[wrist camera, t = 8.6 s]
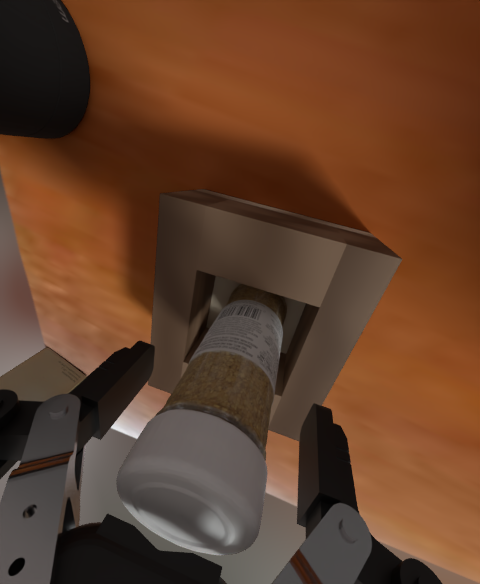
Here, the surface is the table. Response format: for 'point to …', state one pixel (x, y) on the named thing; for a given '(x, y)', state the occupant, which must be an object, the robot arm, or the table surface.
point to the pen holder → (41, 69)
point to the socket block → (269, 277)
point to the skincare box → (42, 377)
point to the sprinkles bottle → (212, 434)
